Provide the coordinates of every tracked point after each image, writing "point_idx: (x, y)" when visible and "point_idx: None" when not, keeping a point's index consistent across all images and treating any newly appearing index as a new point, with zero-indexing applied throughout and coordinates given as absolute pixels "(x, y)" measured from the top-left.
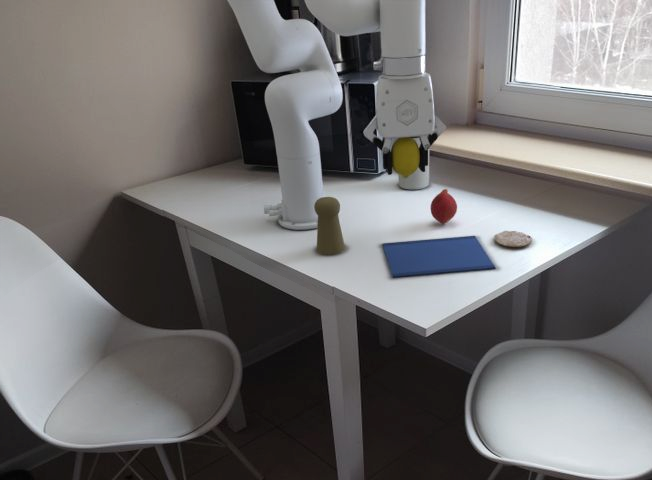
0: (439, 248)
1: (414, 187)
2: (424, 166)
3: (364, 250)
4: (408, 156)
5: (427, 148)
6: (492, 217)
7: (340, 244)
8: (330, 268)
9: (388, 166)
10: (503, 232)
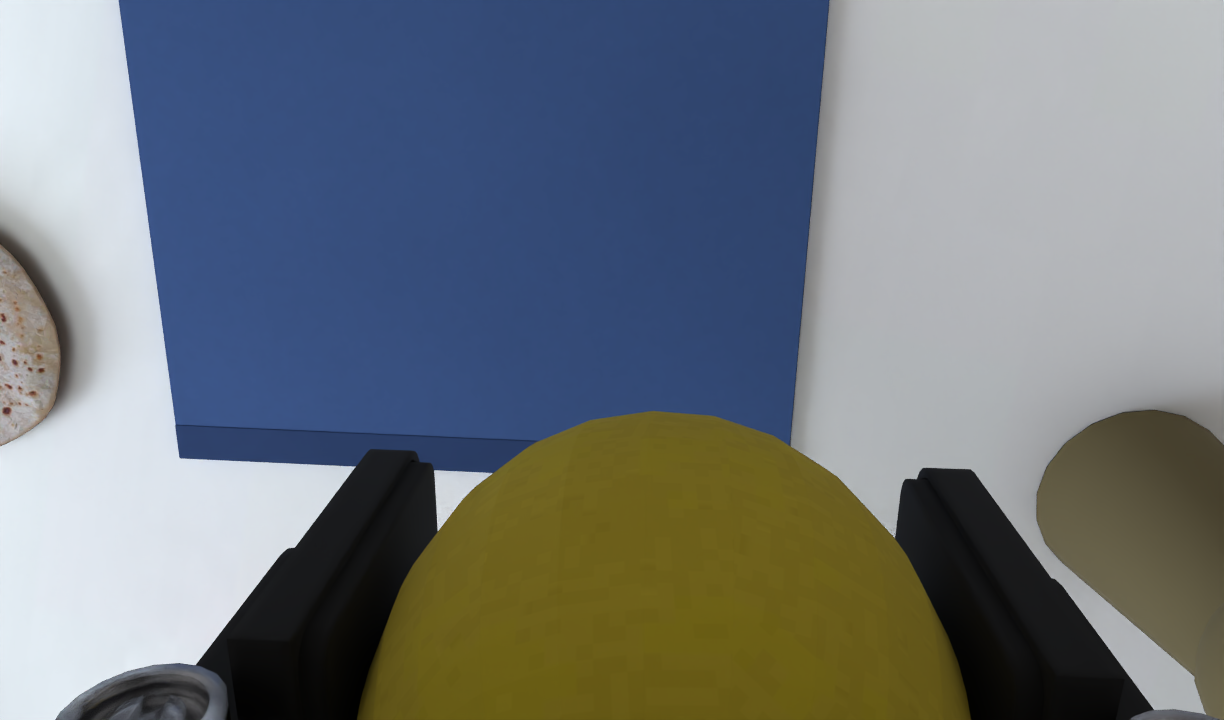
0: (433, 324)
1: None
2: (360, 478)
3: (919, 430)
4: (649, 501)
5: (157, 705)
6: (43, 700)
7: (1102, 464)
8: (1217, 206)
9: (1012, 526)
10: None
